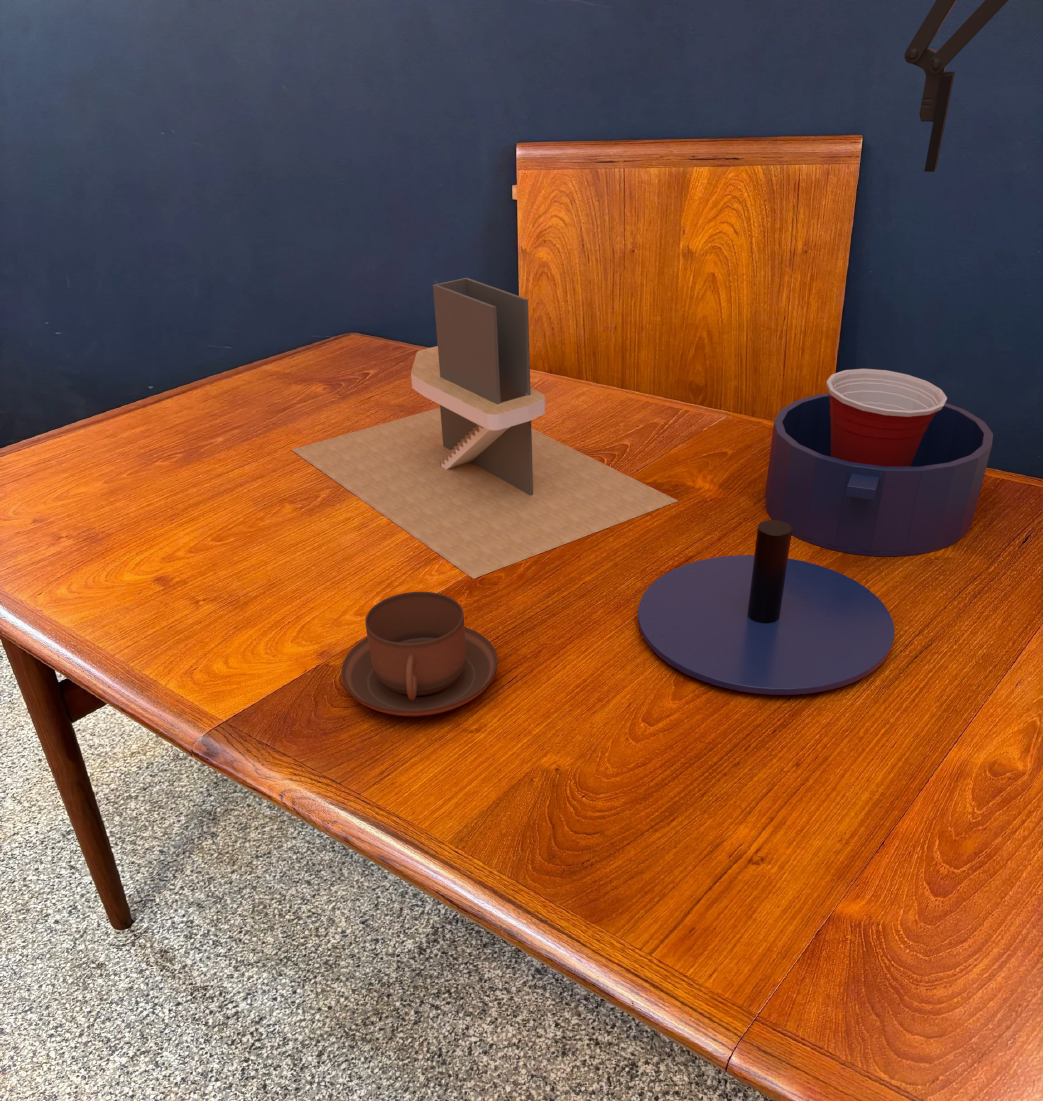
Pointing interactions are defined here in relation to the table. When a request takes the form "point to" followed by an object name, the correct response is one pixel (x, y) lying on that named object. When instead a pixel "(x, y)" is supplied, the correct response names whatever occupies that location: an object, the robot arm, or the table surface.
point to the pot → (876, 484)
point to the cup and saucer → (418, 657)
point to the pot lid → (766, 621)
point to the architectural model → (480, 448)
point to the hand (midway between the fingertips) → (1022, 172)
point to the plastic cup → (880, 415)
